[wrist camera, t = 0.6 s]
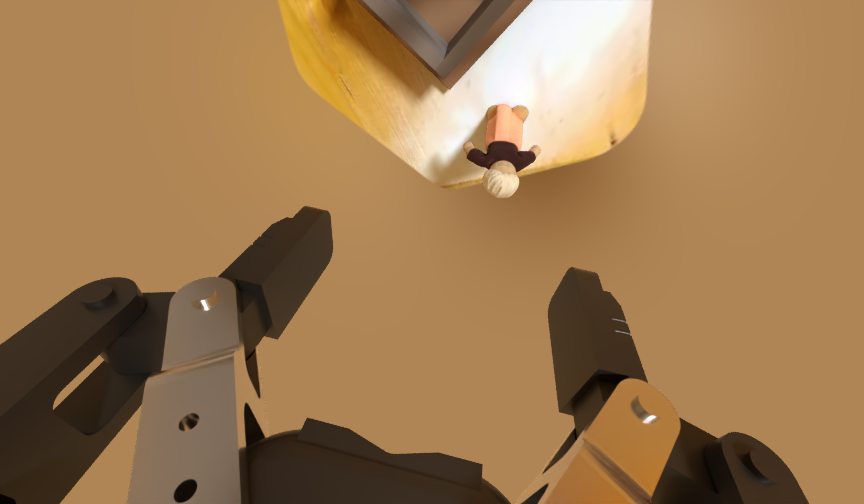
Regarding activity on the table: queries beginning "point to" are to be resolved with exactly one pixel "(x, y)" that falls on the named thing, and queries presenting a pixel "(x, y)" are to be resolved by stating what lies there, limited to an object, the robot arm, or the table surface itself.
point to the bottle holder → (446, 29)
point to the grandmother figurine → (503, 150)
